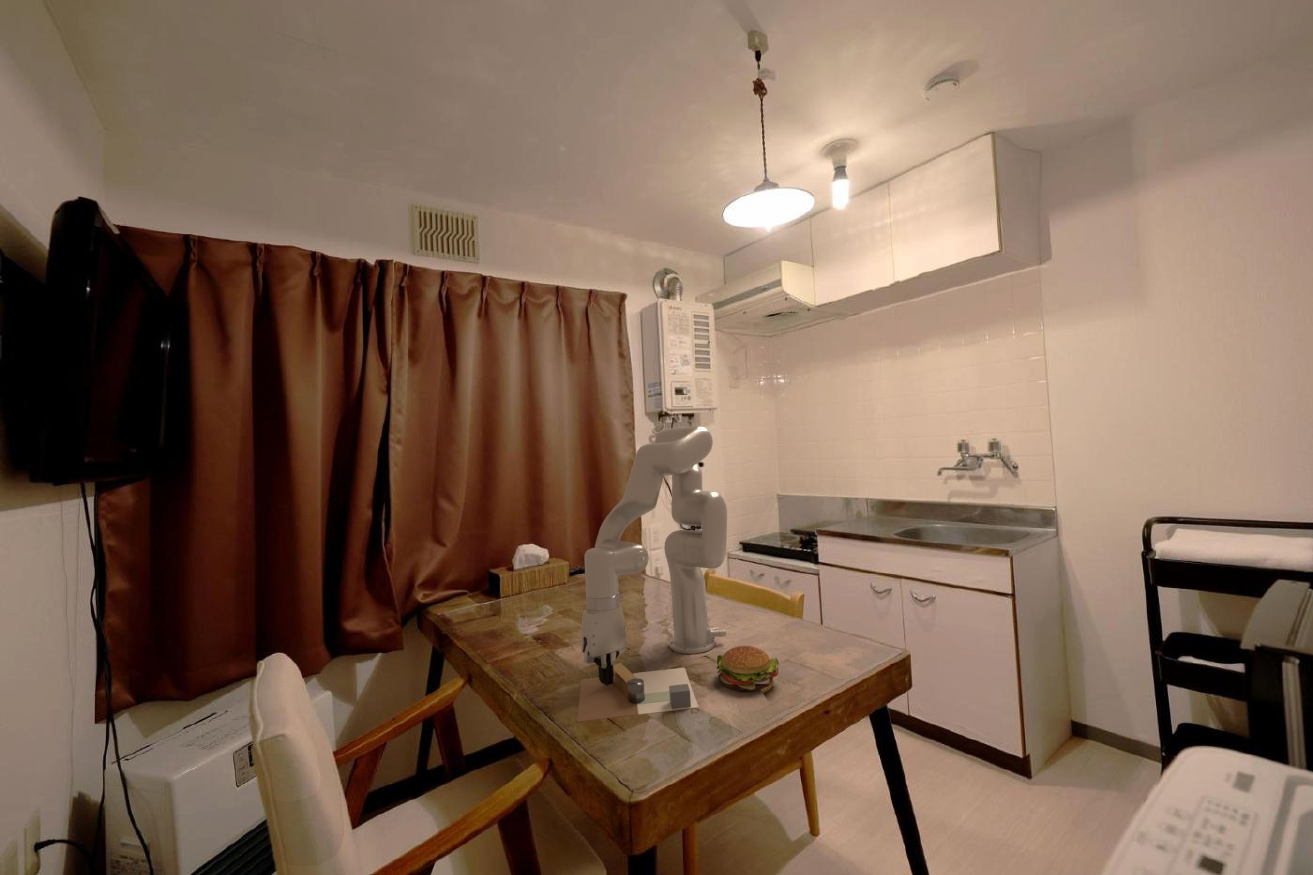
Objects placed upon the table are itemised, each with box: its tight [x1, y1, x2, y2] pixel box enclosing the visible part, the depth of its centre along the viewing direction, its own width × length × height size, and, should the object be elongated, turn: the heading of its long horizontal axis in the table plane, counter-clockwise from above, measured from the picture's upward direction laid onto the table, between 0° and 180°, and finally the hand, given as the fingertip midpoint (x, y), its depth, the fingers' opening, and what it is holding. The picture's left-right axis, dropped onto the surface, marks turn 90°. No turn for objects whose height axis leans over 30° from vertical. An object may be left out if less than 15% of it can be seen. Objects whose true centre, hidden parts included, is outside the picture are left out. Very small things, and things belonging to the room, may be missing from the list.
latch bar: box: [613, 662, 645, 703], centre depth 115 cm, size 14×4×4 cm, turn 26°
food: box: [716, 645, 780, 694], centre depth 117 cm, size 14×14×8 cm
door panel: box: [576, 667, 699, 723], centre depth 114 cm, size 25×19×5 cm
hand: (606, 682), depth 117 cm, fingers closed
